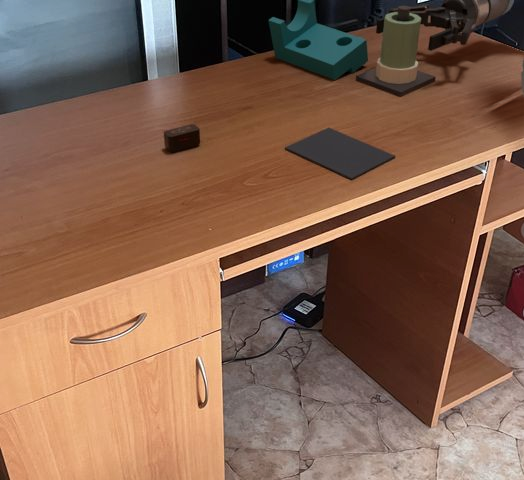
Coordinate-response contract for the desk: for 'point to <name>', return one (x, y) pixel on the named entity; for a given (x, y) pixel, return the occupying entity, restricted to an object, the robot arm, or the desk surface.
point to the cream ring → (396, 73)
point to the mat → (340, 153)
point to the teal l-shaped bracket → (316, 44)
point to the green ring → (400, 41)
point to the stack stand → (392, 88)
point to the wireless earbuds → (182, 138)
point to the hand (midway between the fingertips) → (403, 35)
